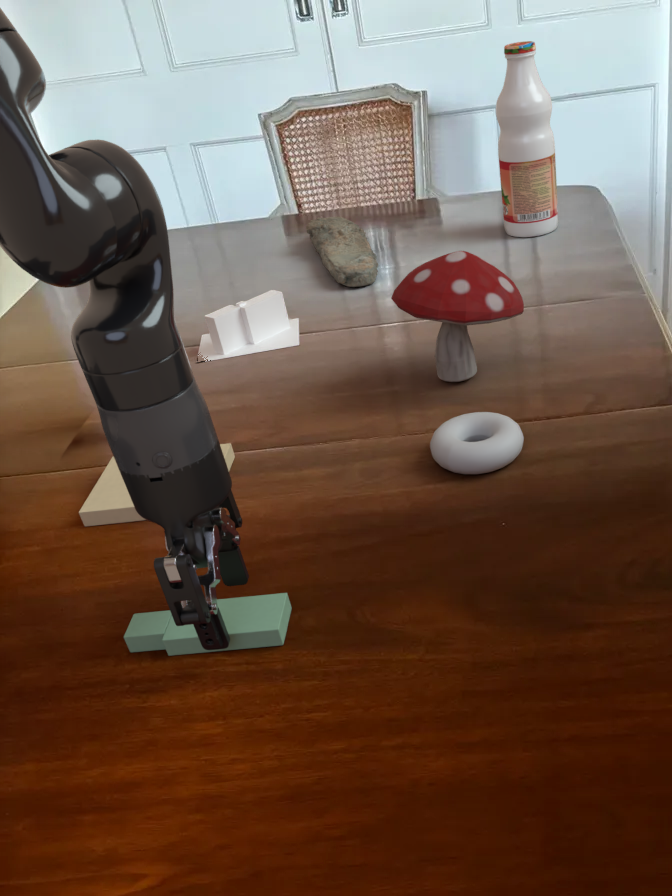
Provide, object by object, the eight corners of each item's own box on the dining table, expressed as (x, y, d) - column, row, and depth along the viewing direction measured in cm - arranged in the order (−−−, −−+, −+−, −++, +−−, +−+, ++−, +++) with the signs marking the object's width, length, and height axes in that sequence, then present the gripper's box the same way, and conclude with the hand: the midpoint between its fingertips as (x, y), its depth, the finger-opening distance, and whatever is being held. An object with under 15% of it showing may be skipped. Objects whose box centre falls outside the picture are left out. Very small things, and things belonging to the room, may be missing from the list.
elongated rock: (331, 303, 143) (392, 293, 145) (327, 270, 140) (389, 260, 141) (302, 235, 169) (353, 227, 171) (297, 205, 166) (350, 198, 168)
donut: (535, 437, 98) (449, 431, 101) (533, 408, 96) (446, 403, 99) (509, 485, 91) (418, 476, 94) (507, 455, 89) (414, 447, 92)
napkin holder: (298, 317, 136) (289, 279, 133) (300, 344, 128) (291, 305, 124) (201, 334, 136) (189, 297, 132) (195, 363, 127) (183, 324, 123)
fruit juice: (536, 240, 151) (525, 48, 134) (493, 235, 157) (477, 50, 139) (569, 224, 156) (562, 37, 139) (526, 219, 162) (514, 38, 145)
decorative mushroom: (428, 348, 121) (411, 233, 112) (543, 349, 116) (535, 229, 107) (386, 402, 109) (364, 279, 100) (512, 406, 104) (500, 277, 95)
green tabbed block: (292, 608, 79) (287, 592, 78) (283, 645, 75) (278, 629, 74) (143, 622, 80) (136, 606, 79) (127, 660, 76) (119, 644, 75)
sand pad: (235, 456, 103) (230, 442, 102) (213, 513, 94) (208, 498, 92) (118, 469, 104) (112, 456, 103) (84, 526, 95) (78, 512, 94)
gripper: (143, 408, 72) (203, 569, 82) (86, 501, 61) (164, 675, 71) (233, 396, 71) (283, 560, 81) (192, 489, 60) (256, 666, 70)
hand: (228, 613), depth 76 cm, fingers open, 8 cm apart
